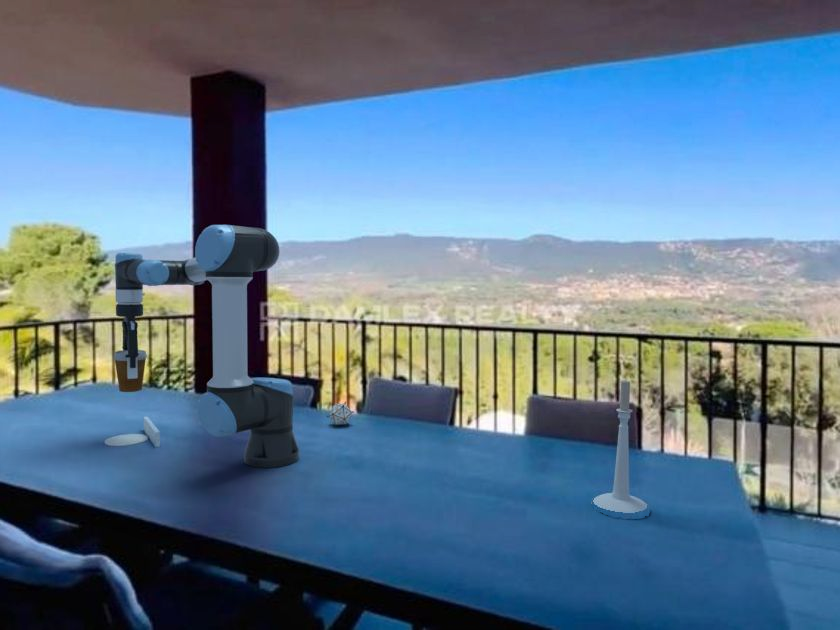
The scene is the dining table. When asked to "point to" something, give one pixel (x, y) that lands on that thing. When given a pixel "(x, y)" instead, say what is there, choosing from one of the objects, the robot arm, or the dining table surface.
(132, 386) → the disposable coffee cup
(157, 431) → the wall
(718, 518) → the dining table surface
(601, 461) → the dining table surface
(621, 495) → the candlestick
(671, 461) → the dining table surface
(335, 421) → the game die
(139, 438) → the coaster
